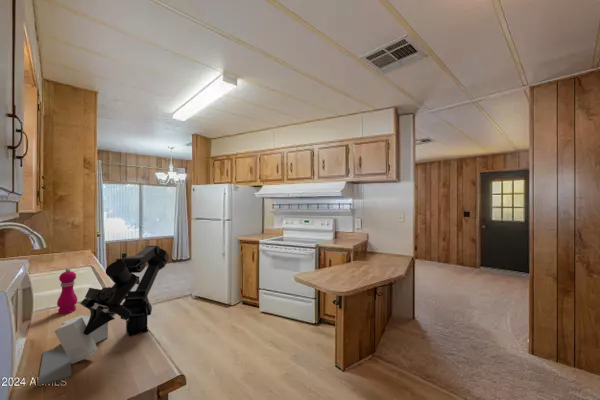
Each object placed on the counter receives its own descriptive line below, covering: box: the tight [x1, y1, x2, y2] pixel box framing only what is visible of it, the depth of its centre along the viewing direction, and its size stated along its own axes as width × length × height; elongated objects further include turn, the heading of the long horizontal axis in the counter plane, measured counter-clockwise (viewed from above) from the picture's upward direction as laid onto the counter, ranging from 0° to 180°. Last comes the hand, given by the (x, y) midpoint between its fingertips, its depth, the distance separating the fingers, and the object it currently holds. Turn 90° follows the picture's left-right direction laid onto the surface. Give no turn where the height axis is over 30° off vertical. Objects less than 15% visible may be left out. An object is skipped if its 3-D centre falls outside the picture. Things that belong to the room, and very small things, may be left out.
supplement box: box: [61, 315, 109, 344], centre depth 99 cm, size 7×7×13 cm
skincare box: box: [53, 317, 99, 365], centre depth 86 cm, size 6×4×12 cm
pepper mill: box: [56, 267, 78, 315], centre depth 126 cm, size 7×7×20 cm
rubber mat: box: [37, 346, 72, 387], centre depth 84 cm, size 7×22×1 cm, turn 41°
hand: (85, 334), depth 85 cm, fingers closed
